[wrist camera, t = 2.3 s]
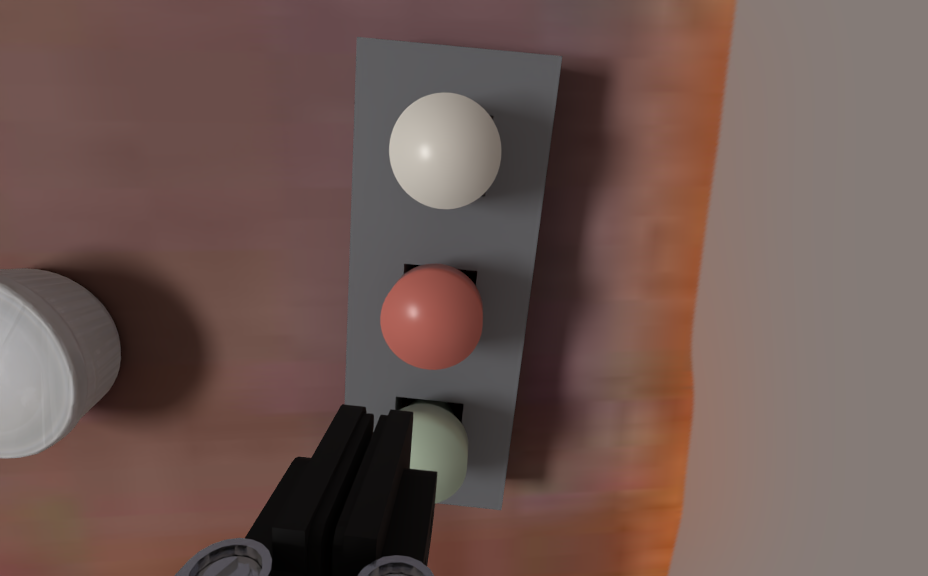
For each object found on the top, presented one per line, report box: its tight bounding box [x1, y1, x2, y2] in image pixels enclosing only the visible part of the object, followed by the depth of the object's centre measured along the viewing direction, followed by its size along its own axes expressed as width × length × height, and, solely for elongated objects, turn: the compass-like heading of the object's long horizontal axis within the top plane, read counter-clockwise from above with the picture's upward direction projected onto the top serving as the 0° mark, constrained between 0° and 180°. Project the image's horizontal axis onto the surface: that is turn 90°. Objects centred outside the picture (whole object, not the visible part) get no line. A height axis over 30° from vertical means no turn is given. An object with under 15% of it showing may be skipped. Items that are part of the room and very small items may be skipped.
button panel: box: [345, 37, 562, 510], centre depth 29 cm, size 26×10×3 cm, turn 175°
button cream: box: [389, 92, 501, 209], centre depth 24 cm, size 5×5×5 cm
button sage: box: [400, 399, 468, 503], centre depth 28 cm, size 5×5×5 cm
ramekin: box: [0, 268, 121, 458], centre depth 30 cm, size 11×11×5 cm
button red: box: [380, 264, 483, 370], centre depth 26 cm, size 5×5×5 cm
